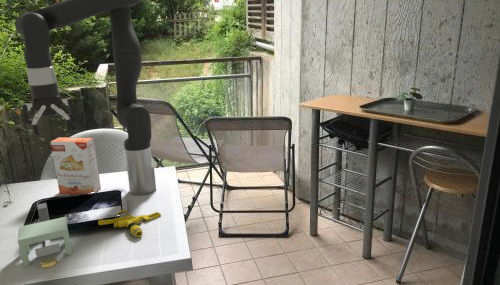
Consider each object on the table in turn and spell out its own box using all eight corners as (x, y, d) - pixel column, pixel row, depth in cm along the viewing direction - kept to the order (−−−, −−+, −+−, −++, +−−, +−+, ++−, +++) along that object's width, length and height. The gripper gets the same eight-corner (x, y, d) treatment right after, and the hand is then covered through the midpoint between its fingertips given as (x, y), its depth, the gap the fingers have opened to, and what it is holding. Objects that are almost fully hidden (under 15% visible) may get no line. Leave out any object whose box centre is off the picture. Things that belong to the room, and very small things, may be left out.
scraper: (57, 227, 127) (52, 201, 124) (60, 251, 113) (55, 223, 111) (36, 232, 124) (30, 205, 121) (36, 257, 111) (30, 228, 108)
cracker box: (58, 194, 151) (49, 141, 145) (67, 187, 157) (58, 136, 150) (94, 195, 149) (85, 141, 143) (101, 188, 155) (93, 136, 149)
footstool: (69, 240, 119) (65, 216, 116) (72, 254, 112) (67, 228, 109) (24, 252, 113) (18, 227, 111) (23, 266, 107) (17, 240, 104)
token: (57, 259, 110) (56, 255, 110) (57, 266, 107) (57, 263, 107) (40, 263, 109) (40, 259, 108) (41, 271, 105) (40, 267, 105)
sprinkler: (111, 233, 114) (94, 213, 125) (111, 246, 114) (94, 225, 126) (173, 220, 125) (153, 203, 137) (172, 232, 126) (152, 214, 138)
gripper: (67, 77, 127) (76, 126, 133) (16, 83, 121) (28, 134, 126) (69, 80, 121) (79, 132, 126) (16, 86, 115) (28, 140, 120)
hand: (53, 133), depth 126 cm, fingers open, 8 cm apart
